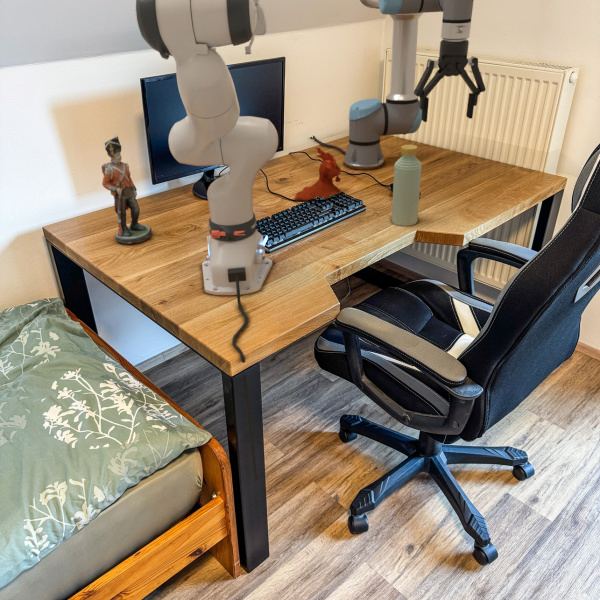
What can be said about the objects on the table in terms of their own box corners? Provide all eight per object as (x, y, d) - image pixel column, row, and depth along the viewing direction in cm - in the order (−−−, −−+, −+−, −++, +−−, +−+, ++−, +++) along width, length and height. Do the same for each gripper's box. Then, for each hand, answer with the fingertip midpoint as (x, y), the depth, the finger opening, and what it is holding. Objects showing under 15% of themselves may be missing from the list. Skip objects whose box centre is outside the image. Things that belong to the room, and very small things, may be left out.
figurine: (142, 245, 163) (121, 143, 147) (109, 243, 165) (84, 142, 149) (157, 230, 172) (139, 131, 156) (125, 228, 174) (104, 131, 158)
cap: (411, 149, 163) (411, 143, 162) (420, 154, 159) (420, 147, 158) (397, 152, 161) (398, 146, 161) (406, 156, 158) (406, 150, 157)
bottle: (408, 213, 176) (413, 142, 164) (422, 222, 170) (428, 149, 158) (386, 218, 173) (390, 146, 161) (400, 227, 167) (405, 154, 155)
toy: (349, 195, 190) (350, 151, 182) (303, 205, 184) (301, 160, 176) (331, 183, 200) (331, 141, 192) (287, 193, 194) (284, 150, 186)
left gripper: (182, -1, 142) (190, 58, 149) (263, -5, 141) (267, 55, 149) (187, -3, 147) (194, 54, 154) (265, -6, 147) (268, 51, 154)
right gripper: (414, 44, 148) (408, 125, 159) (504, 38, 150) (493, 119, 162) (406, 40, 154) (401, 118, 166) (493, 34, 157) (482, 112, 168)
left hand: (231, 54), depth 151 cm, fingers open, 8 cm apart
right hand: (446, 119), depth 164 cm, fingers open, 13 cm apart
